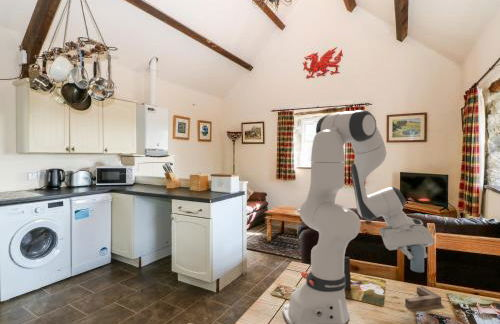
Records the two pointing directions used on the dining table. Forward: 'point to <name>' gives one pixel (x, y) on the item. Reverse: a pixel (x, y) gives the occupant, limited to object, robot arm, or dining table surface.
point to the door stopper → (347, 272)
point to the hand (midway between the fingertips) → (418, 258)
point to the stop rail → (423, 298)
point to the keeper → (417, 258)
